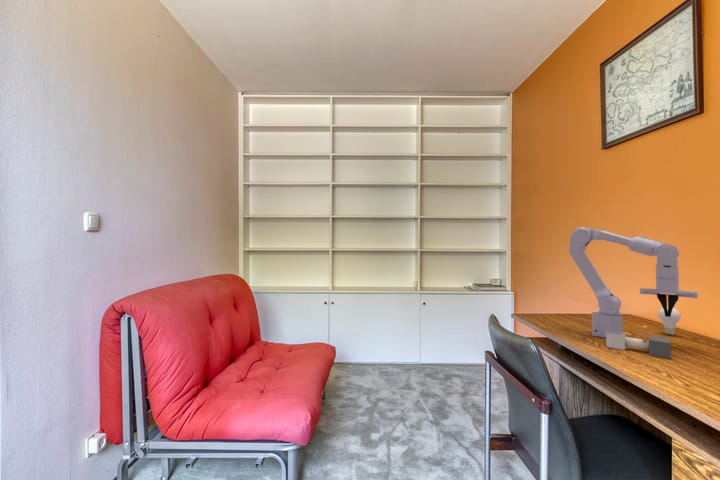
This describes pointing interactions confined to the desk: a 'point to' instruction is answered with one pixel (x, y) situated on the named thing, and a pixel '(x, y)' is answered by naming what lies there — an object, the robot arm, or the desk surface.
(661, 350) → the socket
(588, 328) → the desk surface
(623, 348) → the light grey cube
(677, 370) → the desk surface
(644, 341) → the slip tube
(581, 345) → the desk surface
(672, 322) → the lightbulb
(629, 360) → the desk surface
